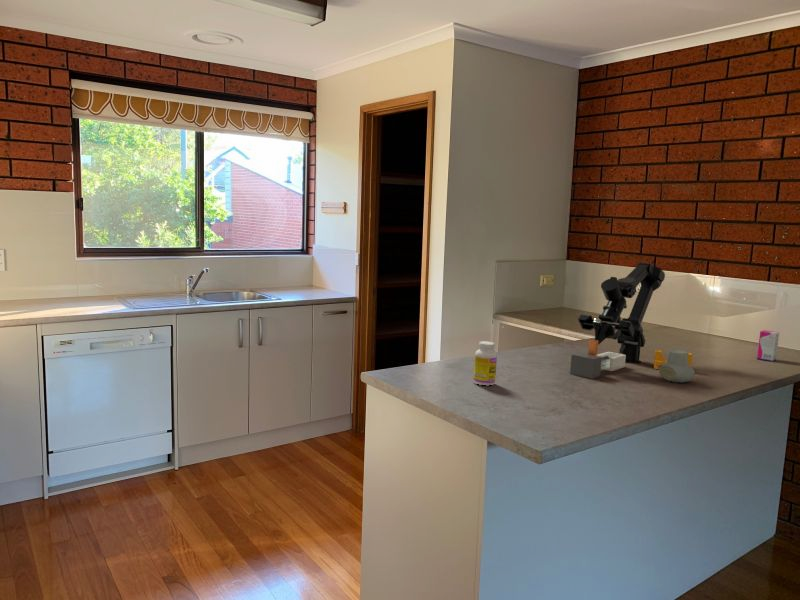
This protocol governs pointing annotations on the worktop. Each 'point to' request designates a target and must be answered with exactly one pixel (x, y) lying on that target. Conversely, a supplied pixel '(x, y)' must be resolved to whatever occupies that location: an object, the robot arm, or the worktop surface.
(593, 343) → the tube
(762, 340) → the supplement box
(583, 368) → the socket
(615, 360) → the open tray
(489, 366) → the supplement bottle
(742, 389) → the worktop surface
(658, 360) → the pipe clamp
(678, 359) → the air freshener
